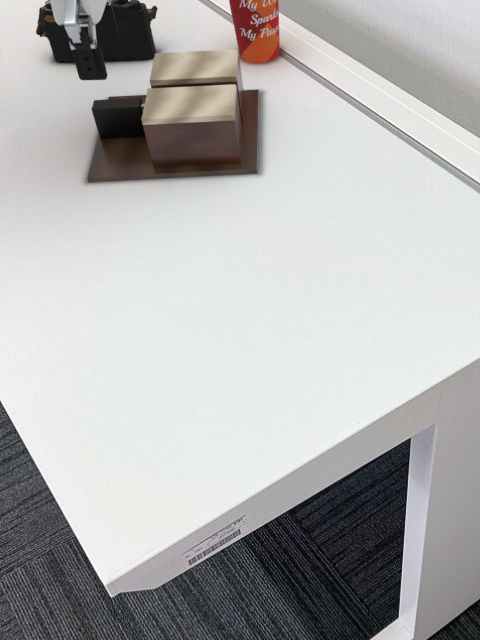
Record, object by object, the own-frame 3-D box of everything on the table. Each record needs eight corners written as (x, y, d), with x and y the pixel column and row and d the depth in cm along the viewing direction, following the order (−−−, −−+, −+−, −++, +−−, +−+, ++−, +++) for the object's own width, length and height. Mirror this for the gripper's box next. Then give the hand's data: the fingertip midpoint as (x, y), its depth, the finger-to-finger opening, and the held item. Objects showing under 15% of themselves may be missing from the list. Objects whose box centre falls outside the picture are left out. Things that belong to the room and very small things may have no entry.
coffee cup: (250, 75, 112) (238, -31, 101) (222, 53, 117) (207, -51, 105) (298, 57, 115) (291, -47, 104) (269, 37, 120) (259, -66, 109)
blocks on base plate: (89, 184, 95) (71, 129, 89) (110, 102, 108) (95, 50, 102) (257, 175, 96) (250, 120, 90) (259, 95, 108) (253, 42, 103)
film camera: (154, 22, 124) (141, -42, 116) (170, 58, 116) (156, -9, 108) (42, 42, 120) (20, -23, 112) (50, 80, 112) (27, 13, 105)
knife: (100, 139, 100) (91, 109, 97) (102, 130, 101) (93, 99, 98) (238, 132, 101) (233, 102, 97) (238, 122, 102) (234, 92, 99)
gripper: (41, -124, 86) (80, 25, 98) (6, -64, 74) (55, 96, 87) (109, -125, 86) (139, 24, 99) (84, -65, 75) (122, 95, 87)
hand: (100, 58), depth 93 cm, fingers open, 9 cm apart
